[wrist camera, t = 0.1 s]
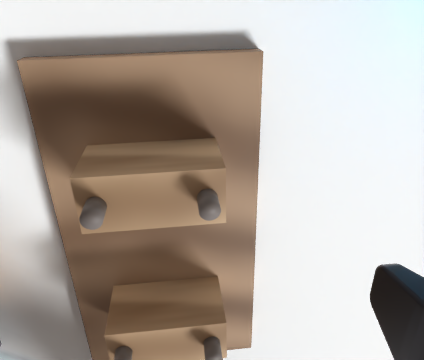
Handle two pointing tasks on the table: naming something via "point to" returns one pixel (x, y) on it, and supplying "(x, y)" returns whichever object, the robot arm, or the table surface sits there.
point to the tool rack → (154, 194)
